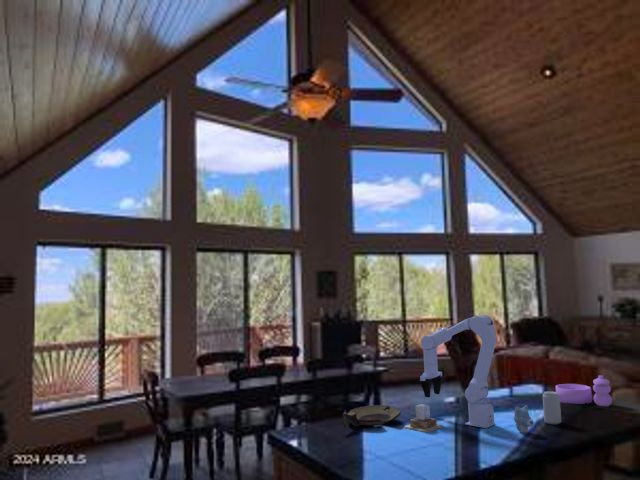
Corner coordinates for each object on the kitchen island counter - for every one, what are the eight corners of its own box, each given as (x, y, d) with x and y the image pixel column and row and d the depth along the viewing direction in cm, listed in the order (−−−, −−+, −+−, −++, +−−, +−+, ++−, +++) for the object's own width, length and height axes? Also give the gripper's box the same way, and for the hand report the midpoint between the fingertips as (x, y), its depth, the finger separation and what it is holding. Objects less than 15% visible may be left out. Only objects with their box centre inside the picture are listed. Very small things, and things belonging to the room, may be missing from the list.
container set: (550, 400, 255) (548, 372, 256) (567, 395, 264) (565, 368, 265) (603, 409, 235) (600, 378, 236) (619, 403, 244) (617, 374, 245)
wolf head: (526, 437, 196) (524, 409, 197) (511, 431, 205) (509, 404, 206) (540, 435, 198) (538, 408, 199) (525, 429, 206) (523, 403, 207)
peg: (430, 425, 215) (429, 405, 215) (424, 427, 212) (423, 407, 212) (421, 423, 217) (421, 403, 218) (416, 425, 215) (415, 405, 215)
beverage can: (543, 424, 213) (541, 393, 214) (545, 420, 219) (543, 390, 220) (560, 425, 210) (558, 394, 212) (562, 421, 216) (559, 391, 217)
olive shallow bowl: (413, 425, 218) (412, 406, 219) (348, 435, 206) (347, 415, 207) (385, 414, 239) (384, 396, 239) (324, 423, 227) (324, 404, 227)
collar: (442, 426, 214) (442, 418, 215) (427, 432, 207) (427, 424, 207) (419, 422, 222) (419, 414, 222) (404, 427, 214) (403, 420, 215)
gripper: (431, 360, 239) (433, 391, 238) (413, 364, 228) (415, 397, 227) (445, 361, 234) (447, 393, 233) (427, 366, 223) (429, 399, 222)
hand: (432, 395), depth 230 cm, fingers open, 7 cm apart
